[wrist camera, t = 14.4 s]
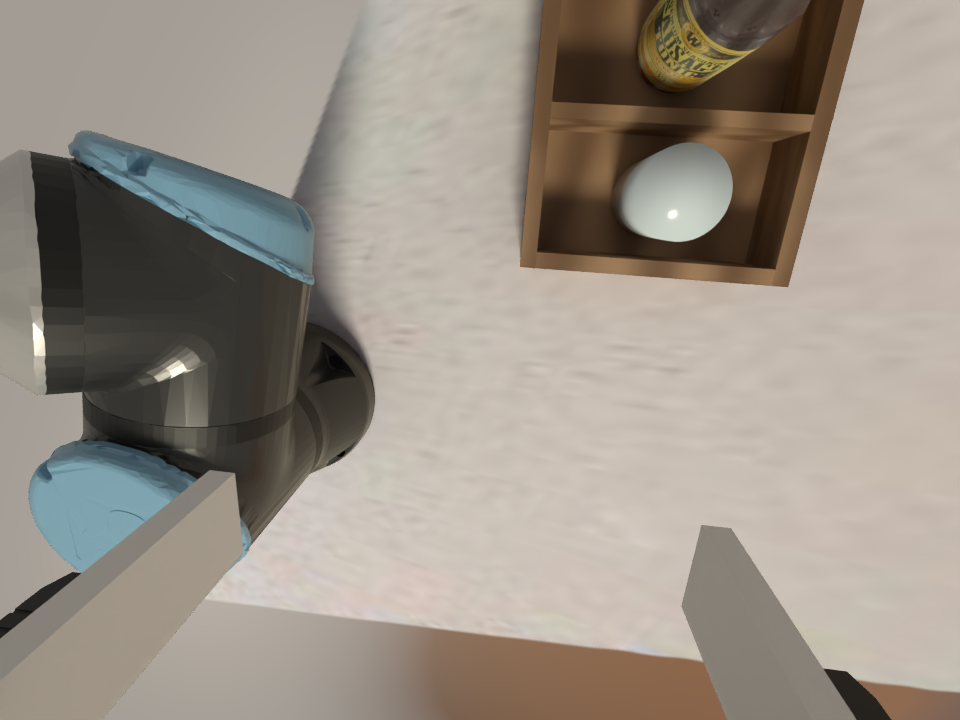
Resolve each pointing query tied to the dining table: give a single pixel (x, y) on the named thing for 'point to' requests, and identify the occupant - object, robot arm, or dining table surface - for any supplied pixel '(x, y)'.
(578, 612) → the dining table surface
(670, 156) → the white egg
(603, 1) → the caddy
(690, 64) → the sauce bottle
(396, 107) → the dining table surface
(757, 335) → the dining table surface
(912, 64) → the dining table surface
